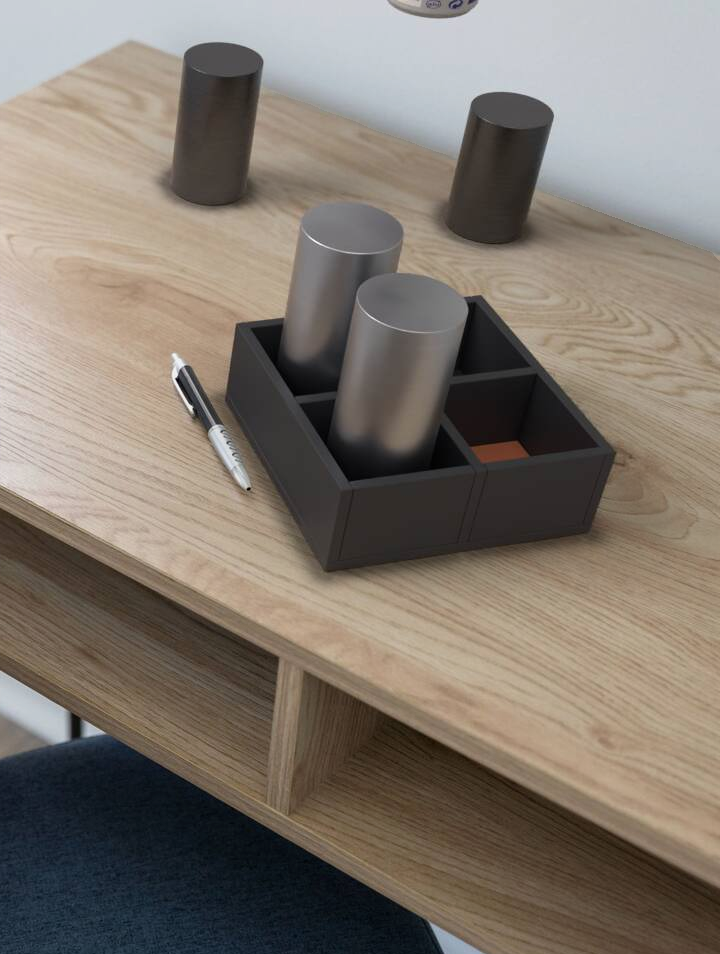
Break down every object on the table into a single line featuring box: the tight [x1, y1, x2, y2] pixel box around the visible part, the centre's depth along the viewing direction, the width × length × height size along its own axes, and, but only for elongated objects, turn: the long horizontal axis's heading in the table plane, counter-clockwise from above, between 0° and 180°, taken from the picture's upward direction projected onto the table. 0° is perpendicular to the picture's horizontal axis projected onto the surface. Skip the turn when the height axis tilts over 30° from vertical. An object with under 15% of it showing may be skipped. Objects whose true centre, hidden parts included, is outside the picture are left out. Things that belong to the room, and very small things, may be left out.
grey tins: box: [169, 41, 555, 244], centre depth 103 cm, size 23×5×9 cm, turn 77°
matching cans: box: [276, 201, 468, 482], centre depth 80 cm, size 5×12×12 cm, turn 14°
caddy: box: [224, 294, 617, 572], centre depth 83 cm, size 14×14×5 cm
